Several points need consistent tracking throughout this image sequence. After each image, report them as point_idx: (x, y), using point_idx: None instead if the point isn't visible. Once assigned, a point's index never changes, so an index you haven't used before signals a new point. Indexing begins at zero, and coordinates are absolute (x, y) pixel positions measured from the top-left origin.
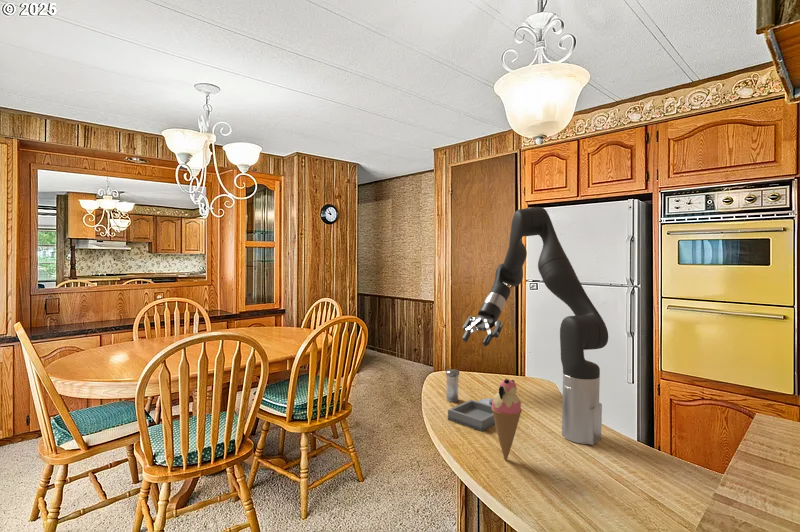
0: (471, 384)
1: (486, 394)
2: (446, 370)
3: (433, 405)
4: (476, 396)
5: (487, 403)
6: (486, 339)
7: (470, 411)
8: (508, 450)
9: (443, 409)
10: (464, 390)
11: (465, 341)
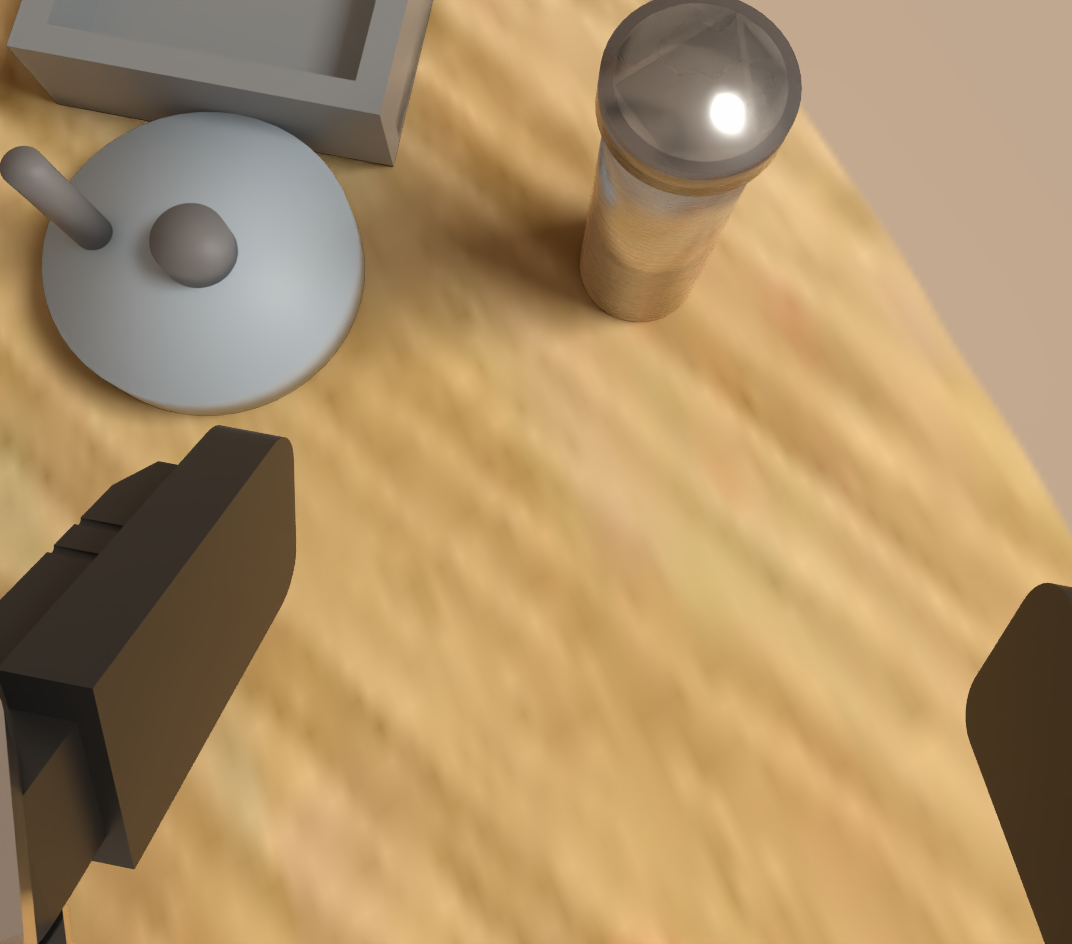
0: (701, 858)
1: (411, 616)
2: (788, 63)
3: None
4: (480, 496)
5: (254, 240)
6: (137, 536)
7: (339, 29)
8: None
9: (595, 34)
10: (671, 601)
11: (989, 662)
